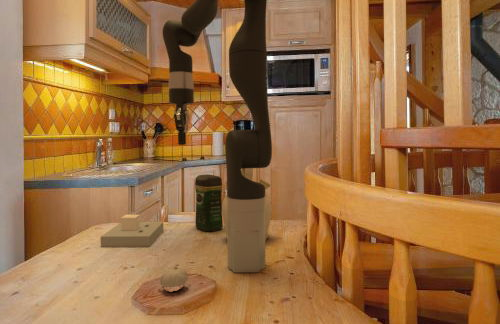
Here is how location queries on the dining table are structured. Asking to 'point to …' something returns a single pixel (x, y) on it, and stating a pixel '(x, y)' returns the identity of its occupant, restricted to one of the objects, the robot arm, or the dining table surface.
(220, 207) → the coffee jar
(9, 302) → the dining table surface
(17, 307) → the dining table surface
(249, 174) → the jug
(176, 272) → the garlic
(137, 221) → the plug
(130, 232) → the socket
